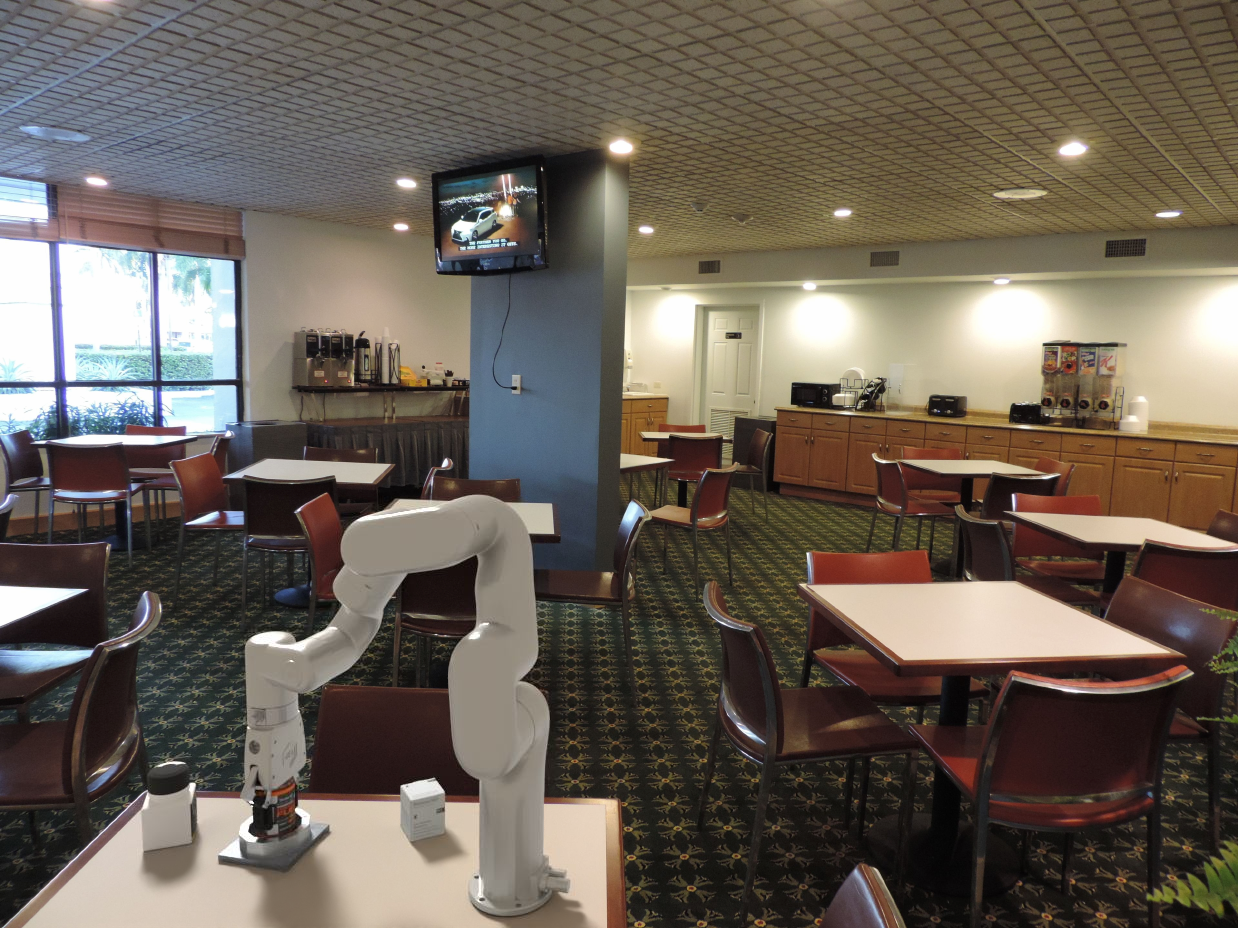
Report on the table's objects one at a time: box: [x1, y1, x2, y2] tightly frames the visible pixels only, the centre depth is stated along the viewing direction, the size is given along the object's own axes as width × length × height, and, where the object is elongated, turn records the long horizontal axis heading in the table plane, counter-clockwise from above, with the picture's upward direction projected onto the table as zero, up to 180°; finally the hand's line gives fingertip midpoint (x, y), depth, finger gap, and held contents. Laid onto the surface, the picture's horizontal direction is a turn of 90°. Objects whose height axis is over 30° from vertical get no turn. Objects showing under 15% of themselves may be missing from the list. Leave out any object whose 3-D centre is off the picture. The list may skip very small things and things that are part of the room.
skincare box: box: [399, 777, 446, 843], centre depth 138 cm, size 6×6×7 cm
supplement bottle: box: [256, 776, 296, 839], centre depth 132 cm, size 6×6×11 cm
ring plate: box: [217, 807, 331, 873], centre depth 133 cm, size 12×12×4 cm
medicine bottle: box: [140, 761, 198, 852], centre depth 134 cm, size 7×7×12 cm
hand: (276, 816), depth 132 cm, fingers closed on supplement bottle, 5 cm apart
